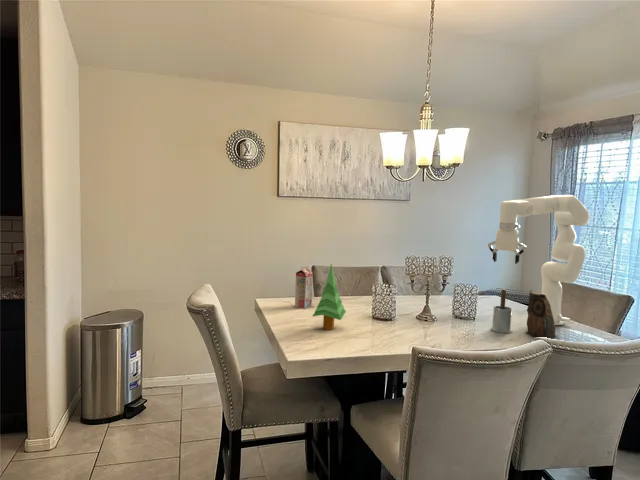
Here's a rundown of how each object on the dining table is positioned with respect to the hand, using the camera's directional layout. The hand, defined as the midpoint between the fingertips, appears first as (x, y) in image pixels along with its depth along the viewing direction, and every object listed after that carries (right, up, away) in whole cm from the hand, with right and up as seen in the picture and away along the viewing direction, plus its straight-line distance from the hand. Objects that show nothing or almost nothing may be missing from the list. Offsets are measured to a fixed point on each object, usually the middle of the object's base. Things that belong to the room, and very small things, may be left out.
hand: (505, 262), depth 216 cm
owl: (+13, -34, -9) cm, 37 cm away
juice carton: (-98, -26, +31) cm, 106 cm away
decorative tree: (-85, -30, -11) cm, 91 cm away
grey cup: (-3, -32, -3) cm, 32 cm away
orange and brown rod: (-3, -31, -3) cm, 32 cm away
